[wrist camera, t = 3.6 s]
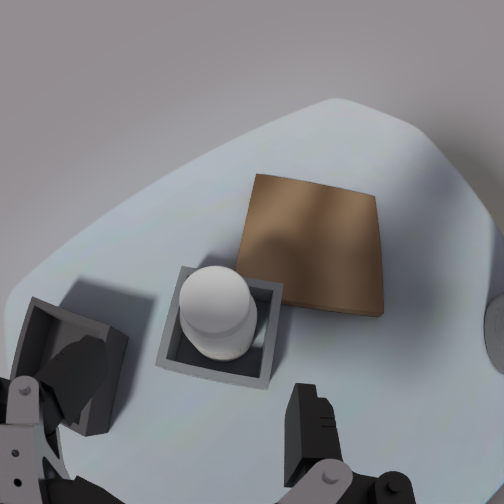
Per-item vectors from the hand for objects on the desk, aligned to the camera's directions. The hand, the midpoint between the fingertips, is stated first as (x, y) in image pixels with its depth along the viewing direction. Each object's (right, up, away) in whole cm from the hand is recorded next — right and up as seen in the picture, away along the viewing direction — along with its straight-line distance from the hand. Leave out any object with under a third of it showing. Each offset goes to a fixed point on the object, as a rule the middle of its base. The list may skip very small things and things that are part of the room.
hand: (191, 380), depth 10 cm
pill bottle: (0, -1, +10) cm, 10 cm away
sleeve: (0, -1, +10) cm, 10 cm away
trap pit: (-12, -4, +7) cm, 14 cm away
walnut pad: (+8, +6, +14) cm, 17 cm away
